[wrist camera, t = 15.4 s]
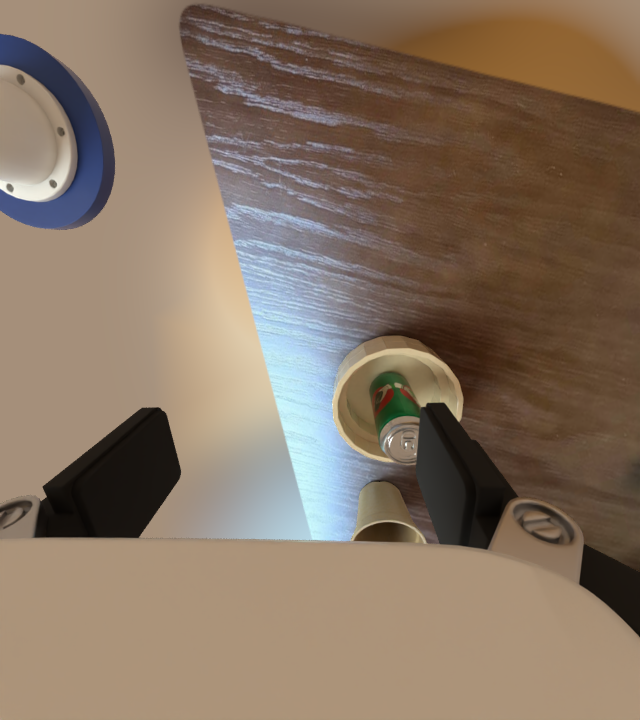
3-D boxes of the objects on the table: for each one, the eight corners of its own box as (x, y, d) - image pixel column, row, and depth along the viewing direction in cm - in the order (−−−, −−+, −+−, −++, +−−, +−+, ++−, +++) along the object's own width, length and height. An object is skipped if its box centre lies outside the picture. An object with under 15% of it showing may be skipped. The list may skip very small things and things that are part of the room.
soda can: (369, 407, 39) (380, 469, 27) (368, 371, 37) (379, 421, 26) (408, 405, 38) (436, 468, 27) (409, 369, 37) (439, 420, 25)
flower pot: (358, 463, 43) (361, 512, 35) (420, 479, 43) (439, 531, 35) (341, 511, 46) (341, 566, 38) (399, 525, 46) (412, 583, 38)
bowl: (336, 434, 41) (335, 462, 36) (331, 336, 37) (329, 350, 31) (440, 433, 40) (456, 462, 34) (449, 331, 35) (469, 345, 30)
